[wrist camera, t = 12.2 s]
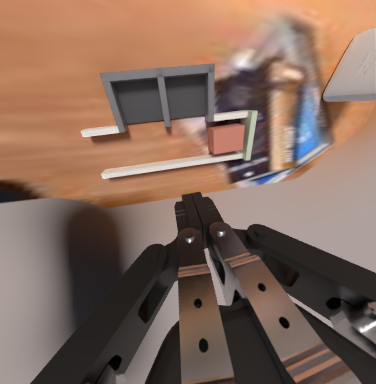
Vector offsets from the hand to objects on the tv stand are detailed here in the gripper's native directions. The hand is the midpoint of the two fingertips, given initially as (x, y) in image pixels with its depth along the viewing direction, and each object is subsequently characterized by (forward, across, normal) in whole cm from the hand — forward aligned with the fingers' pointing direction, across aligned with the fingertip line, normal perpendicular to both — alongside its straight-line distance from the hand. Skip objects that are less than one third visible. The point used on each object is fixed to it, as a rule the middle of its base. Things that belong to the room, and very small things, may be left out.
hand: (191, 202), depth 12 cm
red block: (+21, -11, 0) cm, 24 cm away
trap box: (+21, 0, -3) cm, 21 cm away
